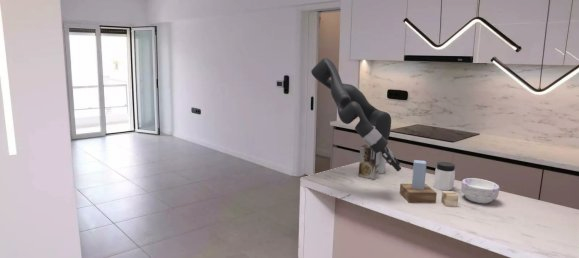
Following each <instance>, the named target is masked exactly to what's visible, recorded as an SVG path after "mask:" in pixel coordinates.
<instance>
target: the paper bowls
mask: <svg viewBox="0 0 579 258" xmlns="http://www.w3.org/2000/svg"><path fill="white" fill-rule="evenodd" d="M460 187H461V188H460V191H461V193H462V194H464V196H465V198H466V199H467V200H468V201H471V202H473V203H477V204H489V203H491V202H492V201H493V200H495V199H498V197H499V193H500V185H499V184H497V183H496V182H494V181H490V180H487V179H482V178H476V177H471V178H470V177H467V178H464V179H462V181H461V185H460Z"/></svg>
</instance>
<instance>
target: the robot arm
mask: <svg viewBox="0 0 579 258" xmlns="http://www.w3.org/2000/svg"><path fill="white" fill-rule="evenodd" d="M310 72H311V75H312V76H313V77H314V78H315V79H316V81H318V82H319V83H320V84H322V85H324V86H325V87H326V88H328V89H329V90H330V94H331V97H332V99H333V101H334V102H335V104H336V108H337V114H338V117H339V119H340V121H341V122H342V123H343V124H346V125H349V124H352V122H354V121H355V120H356V119H357V118H359V121H358V122H357V124H356V125H355V127H354V129H355V132H357V134H358V135H359V136H360V137H361V138H362V139H363V141H364V143H365V145H368V146H369V147H370V148H371V149H372V150H373V151H374V153H378V152H380V164H379V175H380V174H384V173H386V164H387V163H388V164H389V166H392V167H393V168H394V170H395V171H396V172H400V171H401V169H402V167H401V166H400V164H401V163H400V161H399V160H398V159H397V158H396V156H395V155H394V153H393V151H391V149H390V148H389V147H388V144H389V142H388V141H389V137H390V135H391V129H392V117H391V114H390V113H388V112H386V111H383V110H380V109H378V108H376V107H375V106H374V105H372V104H371V103H370V102H369V101H368V99H367V98H366V96H365V94H364V93H363V92H362V91H360V90H359V88H357V87H356V86H354V85H352V84H349V83H343V82H342V79H341V76H340V74H339V72H338V69H337V66H336V65H335V63H334V62H333V61H332V60H331V59H329V58H327V57H324V58H322V59H321V60H320V61H319V62H318V63H317V64H316V65H315V66H314V67H313V68H312V69H311V70H310Z"/></svg>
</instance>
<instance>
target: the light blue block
mask: <svg viewBox="0 0 579 258" xmlns="http://www.w3.org/2000/svg"><path fill="white" fill-rule="evenodd" d="M412 167H413V169H412V180H411V184H412V189H417V190H424V187H425V184H426V175H427V174H426V173H427V172H426V171H427V161H426V160H417V159H413V166H412Z"/></svg>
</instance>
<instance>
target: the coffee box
mask: <svg viewBox="0 0 579 258" xmlns="http://www.w3.org/2000/svg"><path fill="white" fill-rule="evenodd" d="M379 164H380V152H378V153H374V151H373V150H372V149H371V148H370V147H369V146H368V145H367V144H363V145H362V146H360V147H359V165H358V177H361V178H367V179H370V180H371V179H372V180H376V179H378V178H379V177H380V174H379Z"/></svg>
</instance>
